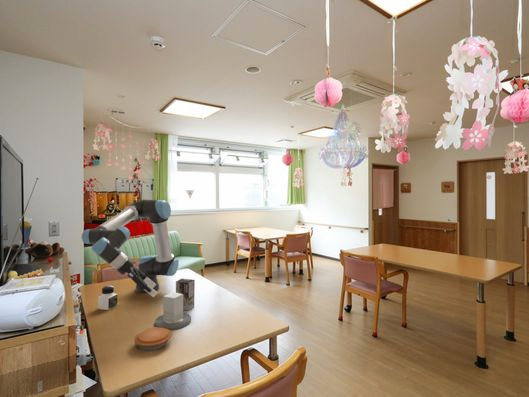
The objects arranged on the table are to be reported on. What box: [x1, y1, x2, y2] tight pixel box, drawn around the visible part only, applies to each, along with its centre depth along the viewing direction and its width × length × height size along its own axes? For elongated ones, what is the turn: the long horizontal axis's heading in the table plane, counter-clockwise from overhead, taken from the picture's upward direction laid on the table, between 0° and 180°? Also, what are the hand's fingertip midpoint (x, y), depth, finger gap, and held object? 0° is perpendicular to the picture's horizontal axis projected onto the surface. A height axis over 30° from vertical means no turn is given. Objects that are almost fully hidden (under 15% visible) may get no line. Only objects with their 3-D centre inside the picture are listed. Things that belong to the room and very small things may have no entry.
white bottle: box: [97, 285, 118, 311], centre depth 165 cm, size 7×7×12 cm
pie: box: [134, 327, 173, 352], centre depth 127 cm, size 16×16×5 cm
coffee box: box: [175, 278, 196, 311], centre depth 167 cm, size 9×6×16 cm
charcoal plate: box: [154, 312, 192, 331], centre depth 149 cm, size 18×18×1 cm
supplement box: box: [162, 291, 184, 323], centre depth 149 cm, size 7×7×13 cm
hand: (155, 290), depth 145 cm, fingers open, 13 cm apart
